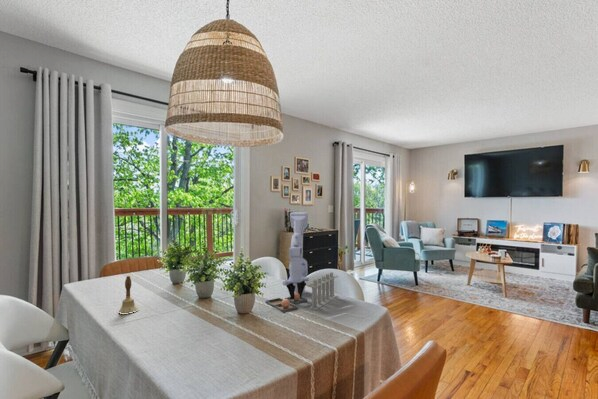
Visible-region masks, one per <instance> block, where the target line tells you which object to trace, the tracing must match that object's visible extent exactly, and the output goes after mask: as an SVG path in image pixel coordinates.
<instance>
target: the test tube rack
mask: <svg viewBox="0 0 598 399" xmlns="http://www.w3.org/2000/svg"><path fill="white" fill-rule="evenodd" d="M338 277H339V276H338V275H334V272H331V271H330V272H329V273H326V274H325V275H322V276H321V277H317V279H314V280H313V281H312V283H310V284H308V285H307V288H311V298H312V299H311V300H312V301H311V305H310V306H309V307H307V310H308V309H309V310H313V311H317V310H318V309H320V308H322V307H323V306H324V305H326V304H327V303H329V302H331V301H333V300H334V299H336V298H339V295H336V294H335V279H337V278H338Z"/></svg>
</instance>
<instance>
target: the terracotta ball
mask: <svg viewBox="0 0 598 399" xmlns="http://www.w3.org/2000/svg"><path fill="white" fill-rule="evenodd" d="M299 299H300V294H299V293H297V292H295V293H294V299H293V300H294V301H298V300H299Z"/></svg>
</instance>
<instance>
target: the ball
mask: <svg viewBox="0 0 598 399" xmlns="http://www.w3.org/2000/svg"><path fill="white" fill-rule="evenodd" d="M281 305H282V307H283V308H288V307H289V306H290V302H289V300H287V299H285V298H283V301H282V302H281Z"/></svg>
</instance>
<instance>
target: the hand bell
mask: <svg viewBox="0 0 598 399" xmlns="http://www.w3.org/2000/svg"><path fill="white" fill-rule="evenodd" d="M124 287H125V290H126V292H125V294H126V295H125V298H124V299H123V300H122V304H121V307H120V309H119V310H118V311H119V312H121V313H129V312H133V311H136V310H137V309H139V308H138V307H137V306H136V304H135V300H134V298H133V297H131V288H132V279H131V276H130V275H126V278H125V281H124Z"/></svg>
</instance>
